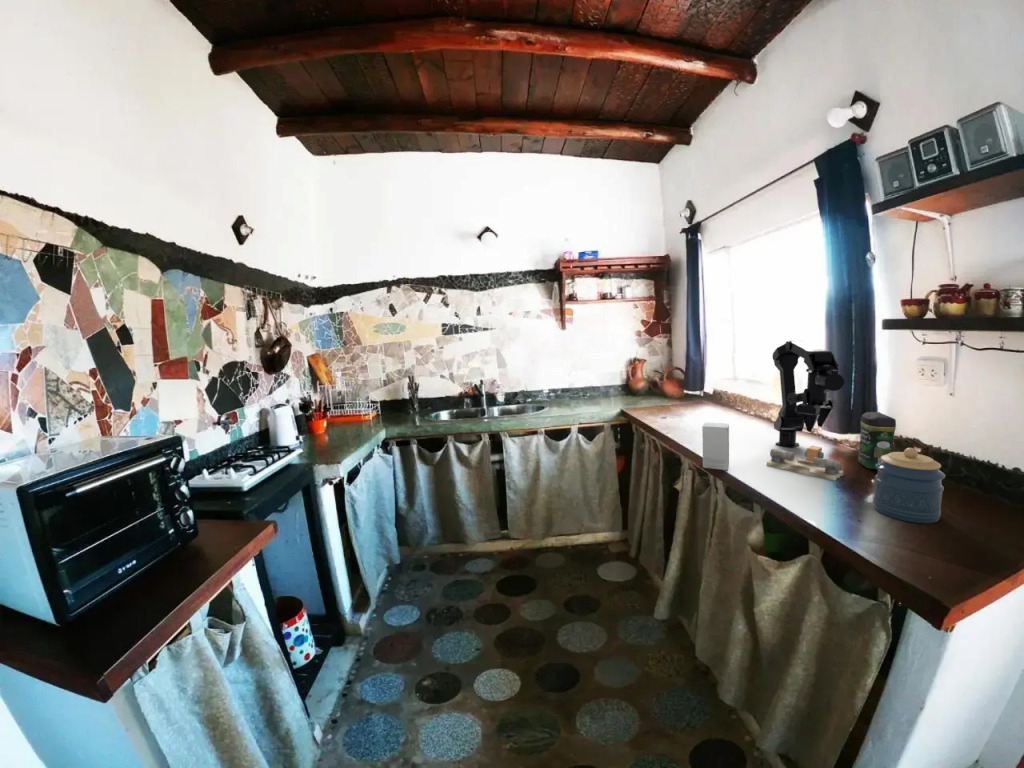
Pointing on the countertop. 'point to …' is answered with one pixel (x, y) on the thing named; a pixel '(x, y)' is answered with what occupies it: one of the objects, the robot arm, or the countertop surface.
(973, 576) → the countertop surface
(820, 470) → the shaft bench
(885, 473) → the canister
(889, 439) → the coffee jar
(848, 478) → the countertop surface
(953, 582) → the countertop surface
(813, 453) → the coupling
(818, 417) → the robot arm
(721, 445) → the skincare box
